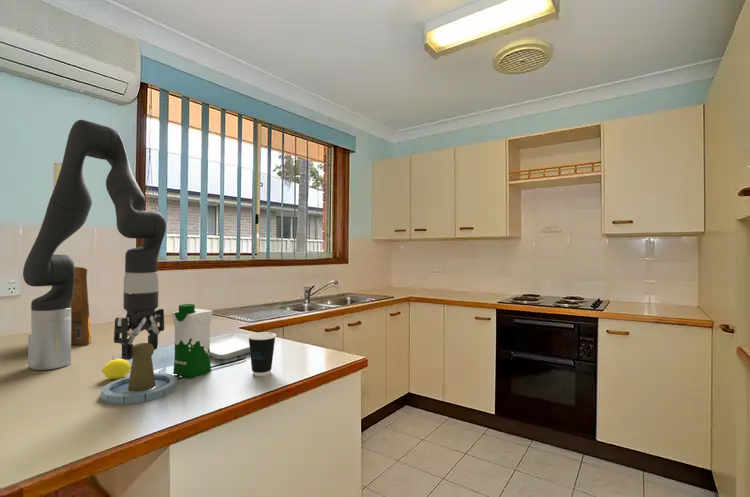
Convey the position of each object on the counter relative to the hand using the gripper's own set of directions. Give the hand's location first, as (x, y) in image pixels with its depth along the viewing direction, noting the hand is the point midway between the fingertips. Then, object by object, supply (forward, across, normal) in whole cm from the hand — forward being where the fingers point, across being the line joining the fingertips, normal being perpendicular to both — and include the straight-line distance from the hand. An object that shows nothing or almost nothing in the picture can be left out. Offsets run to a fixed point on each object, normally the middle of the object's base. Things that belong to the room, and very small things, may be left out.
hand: (140, 354), depth 98 cm
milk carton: (+10, -14, +5) cm, 18 cm away
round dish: (+9, 0, 0) cm, 9 cm away
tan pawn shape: (+9, 0, 0) cm, 9 cm away
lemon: (+10, -7, -13) cm, 17 cm away
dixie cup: (+9, -18, +24) cm, 32 cm away
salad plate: (+10, -38, +3) cm, 39 cm away
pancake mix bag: (+10, -38, -57) cm, 69 cm away
